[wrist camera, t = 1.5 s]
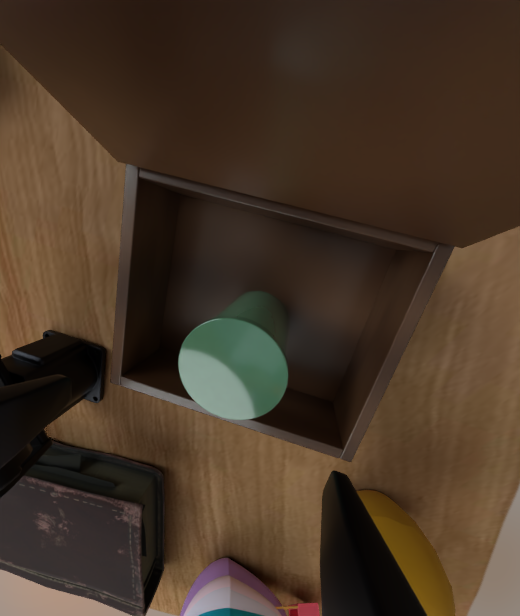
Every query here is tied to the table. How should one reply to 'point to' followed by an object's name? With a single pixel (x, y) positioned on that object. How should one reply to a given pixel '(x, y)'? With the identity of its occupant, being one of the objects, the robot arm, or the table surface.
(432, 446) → the table surface
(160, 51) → the lid
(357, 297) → the wooden box
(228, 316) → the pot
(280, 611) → the hot air balloon
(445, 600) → the apple
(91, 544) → the diary
